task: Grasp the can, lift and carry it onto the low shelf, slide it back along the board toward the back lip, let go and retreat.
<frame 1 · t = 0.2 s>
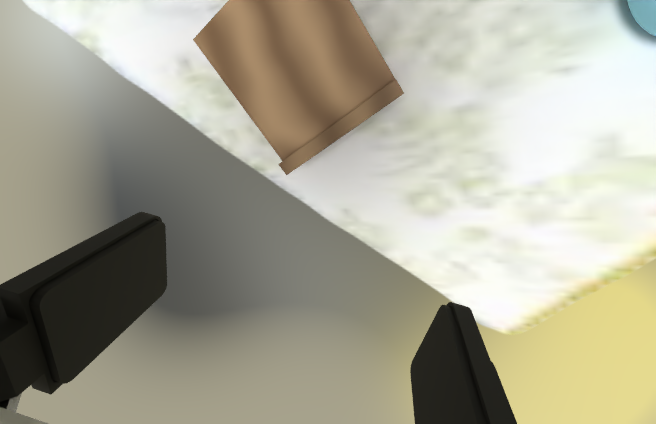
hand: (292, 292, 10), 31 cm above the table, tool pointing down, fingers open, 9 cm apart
shelf: (309, 68, 35), on the table
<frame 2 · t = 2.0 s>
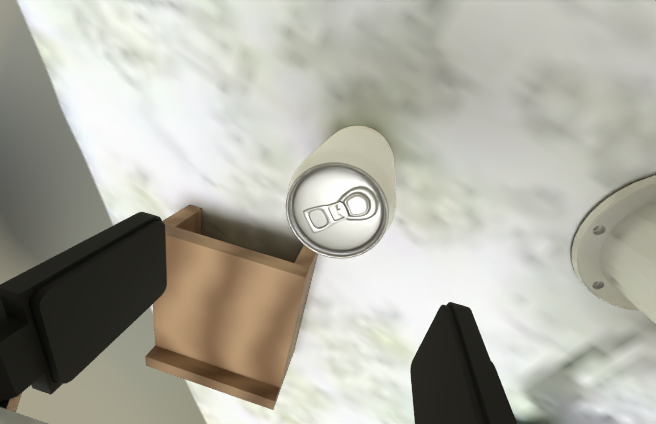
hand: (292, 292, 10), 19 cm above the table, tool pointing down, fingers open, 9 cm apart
can: (357, 160, 27), on the table
shelf: (246, 284, 35), on the table
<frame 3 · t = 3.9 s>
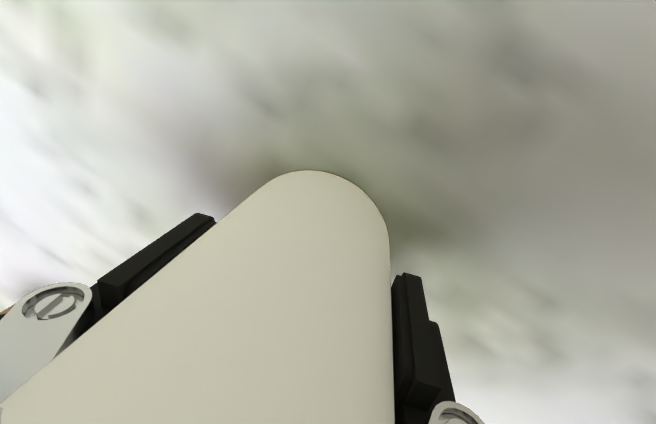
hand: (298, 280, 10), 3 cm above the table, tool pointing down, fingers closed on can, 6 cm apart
can: (316, 235, 13), on the table, touching gripper
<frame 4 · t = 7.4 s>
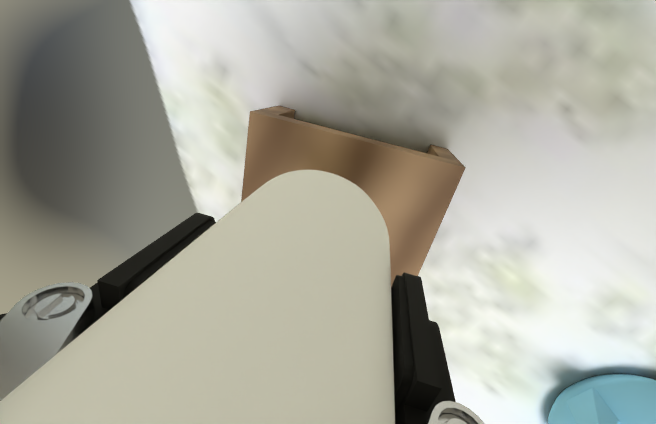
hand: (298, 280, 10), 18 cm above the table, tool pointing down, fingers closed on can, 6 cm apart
can: (316, 234, 13), point 15 cm above the table, touching gripper
teapot: (612, 407, 32), on the table
shelf: (338, 213, 29), on the table
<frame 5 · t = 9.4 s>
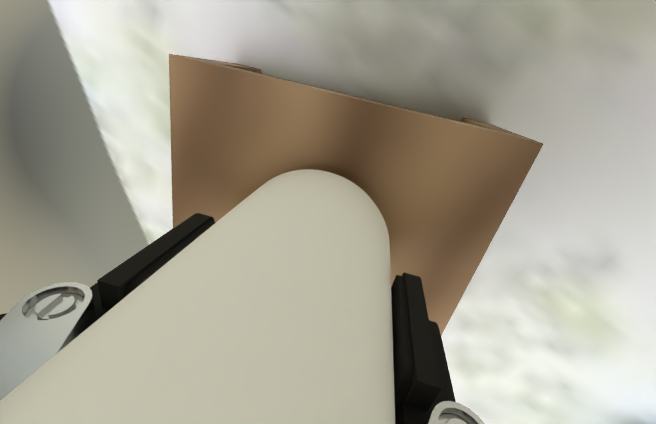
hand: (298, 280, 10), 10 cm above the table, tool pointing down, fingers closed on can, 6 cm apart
can: (316, 234, 13), point 7 cm above the table, touching gripper
shelf: (328, 221, 20), on the table
when the fingers open (10 cm above the table, at t = 10.9 s): can stays where it is, resting on shelf.
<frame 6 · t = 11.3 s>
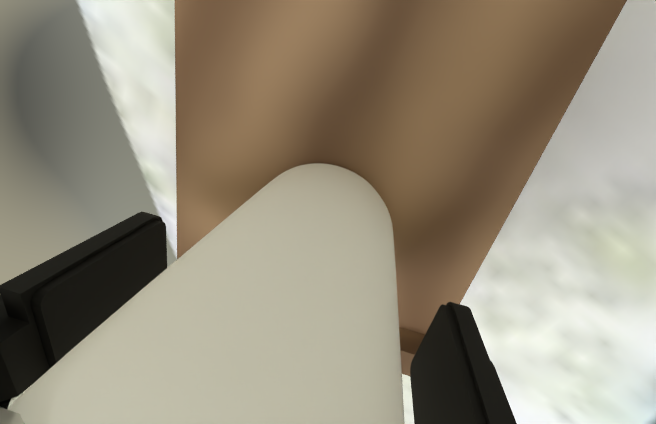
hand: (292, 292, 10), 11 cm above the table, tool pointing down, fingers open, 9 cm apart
can: (324, 225, 14), point 6 cm above the table, touching shelf
shelf: (348, 151, 18), on the table
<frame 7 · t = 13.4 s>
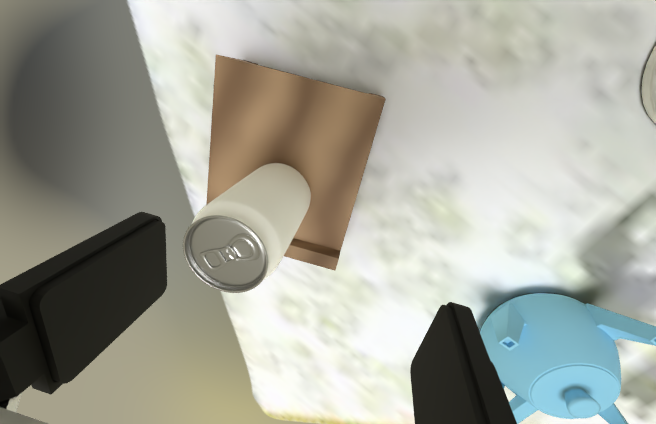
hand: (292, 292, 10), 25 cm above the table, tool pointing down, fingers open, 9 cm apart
can: (280, 192, 29), point 6 cm above the table, touching shelf
teapot: (532, 326, 38), on the table
shelf: (297, 157, 34), on the table
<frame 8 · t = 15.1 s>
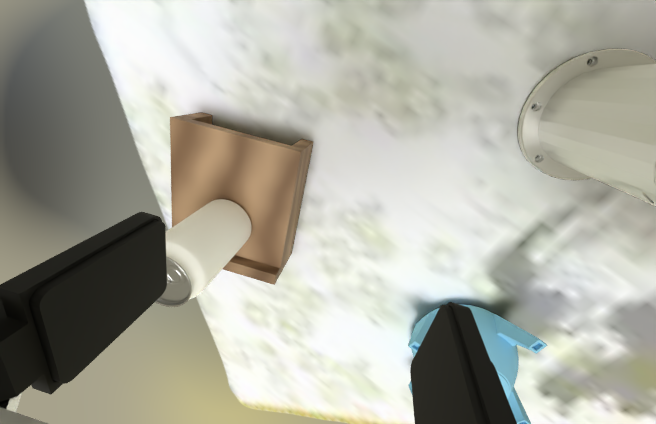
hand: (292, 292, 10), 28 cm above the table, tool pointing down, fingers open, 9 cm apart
can: (229, 221, 36), point 6 cm above the table, touching shelf
teapot: (458, 332, 44), on the table
shelf: (249, 188, 40), on the table
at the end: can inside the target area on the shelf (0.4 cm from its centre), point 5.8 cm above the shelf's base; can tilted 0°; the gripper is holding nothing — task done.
